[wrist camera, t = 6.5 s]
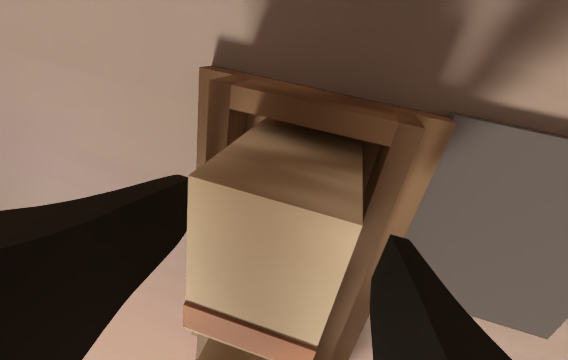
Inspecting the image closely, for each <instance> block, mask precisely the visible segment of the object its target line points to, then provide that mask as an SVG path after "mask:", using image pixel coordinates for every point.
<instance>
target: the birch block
mask: <svg viewBox="0 0 568 360" xmlns="http://www.w3.org/2000/svg"><path fill="white" fill-rule="evenodd" d="M362 226H363V169H362V141H360V140H356V139H352V138H347V137H343V136H339V135H335V134H331V133H327V132H323V131H319V130H315V129H311V128H307V127H303V126H299V125H294V124H290V123H286V122H282V121H278V120H274V119H270V118H265V119H263V120H262V121H261V122H259V123H258V124H257V125H255V126H254V127H253V128H251V129H250V130H249V131H247V132H246V133H245V134H243V135H242V136H241V137H239V138H238V139H237V140H235V141H234V142H233V143H231V144H230V145H229V146H227V147H226V148H225V149H223V150H222V151H221V152H219V153H218V154H217V155H215V156H214V157H213V158H211V159H210V160H209V161H207V162H206V163H205V164H203V165H202V166H201V167H199V168H198V169H197V170H195V171H194V172H192V173H191V174H190V175H188V207H187V250H186V293H185V303H184V305H183V327H185V329H186V330H189V331H192V332H195V333H197V334H200V335H203V336H205V337H208V338H211V339H214V340H216V341H219V342H222V343H224V344H227V345H230V346H233V347H235V348H238V349H241V350H243V351H246V352H249V353H252V354H254V355H257V356H260V357H262V358H265V359H268V360H313V359H314V356H315V354H316V349H317V346H318V344H319V341H320V338H321V336H322V333H323V330H324V328H325V325H326V322H327V320H328V317H329V314H330V312H331V309H332V306H333V304H334V301H335V298H336V296H337V293H338V290H339V288H340V285H341V282H342V280H343V277H344V274H345V272H346V269H347V266H348V264H349V261H350V258H351V256H352V253H353V250H354V248H355V245H356V242H357V240H358V237H359V234H360V232H361V229H362Z"/></svg>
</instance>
